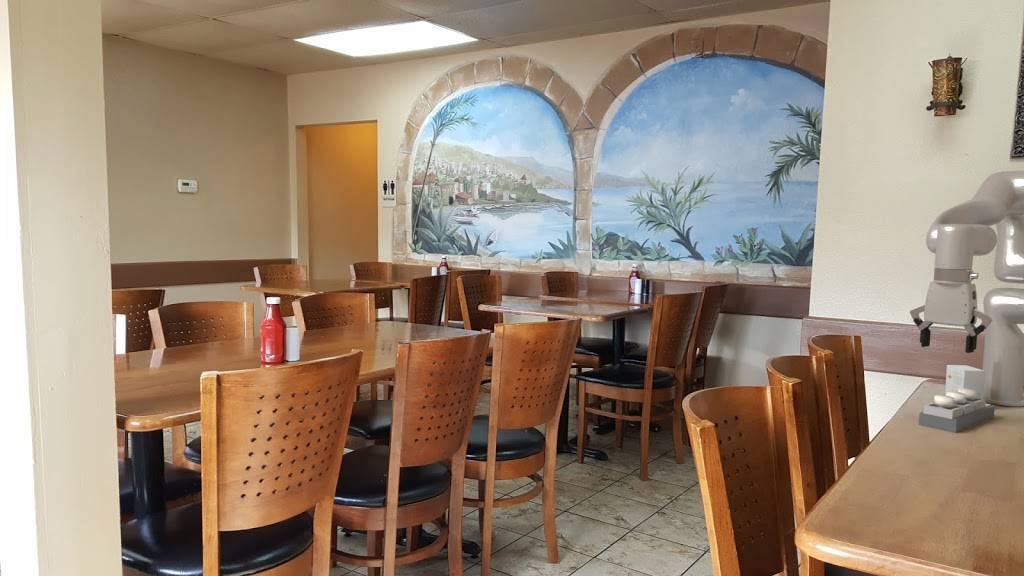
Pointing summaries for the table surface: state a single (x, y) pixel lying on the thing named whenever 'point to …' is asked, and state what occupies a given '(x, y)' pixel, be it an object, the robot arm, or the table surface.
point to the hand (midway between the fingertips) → (946, 349)
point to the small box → (965, 379)
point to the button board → (956, 415)
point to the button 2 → (969, 393)
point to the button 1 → (943, 401)
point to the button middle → (957, 396)
